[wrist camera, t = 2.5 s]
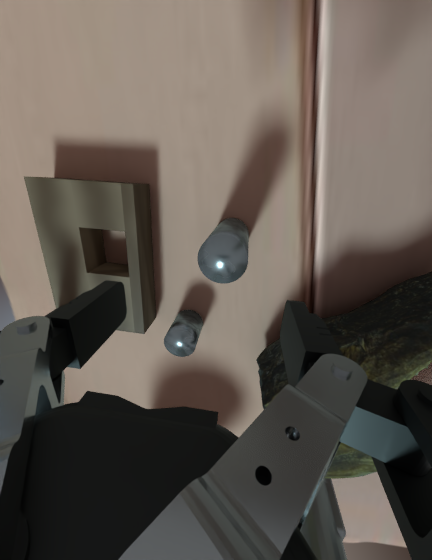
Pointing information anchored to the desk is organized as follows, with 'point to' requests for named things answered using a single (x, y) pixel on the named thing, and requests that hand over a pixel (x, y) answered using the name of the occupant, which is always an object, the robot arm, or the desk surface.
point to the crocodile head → (369, 352)
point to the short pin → (184, 333)
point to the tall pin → (225, 252)
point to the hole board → (95, 240)
